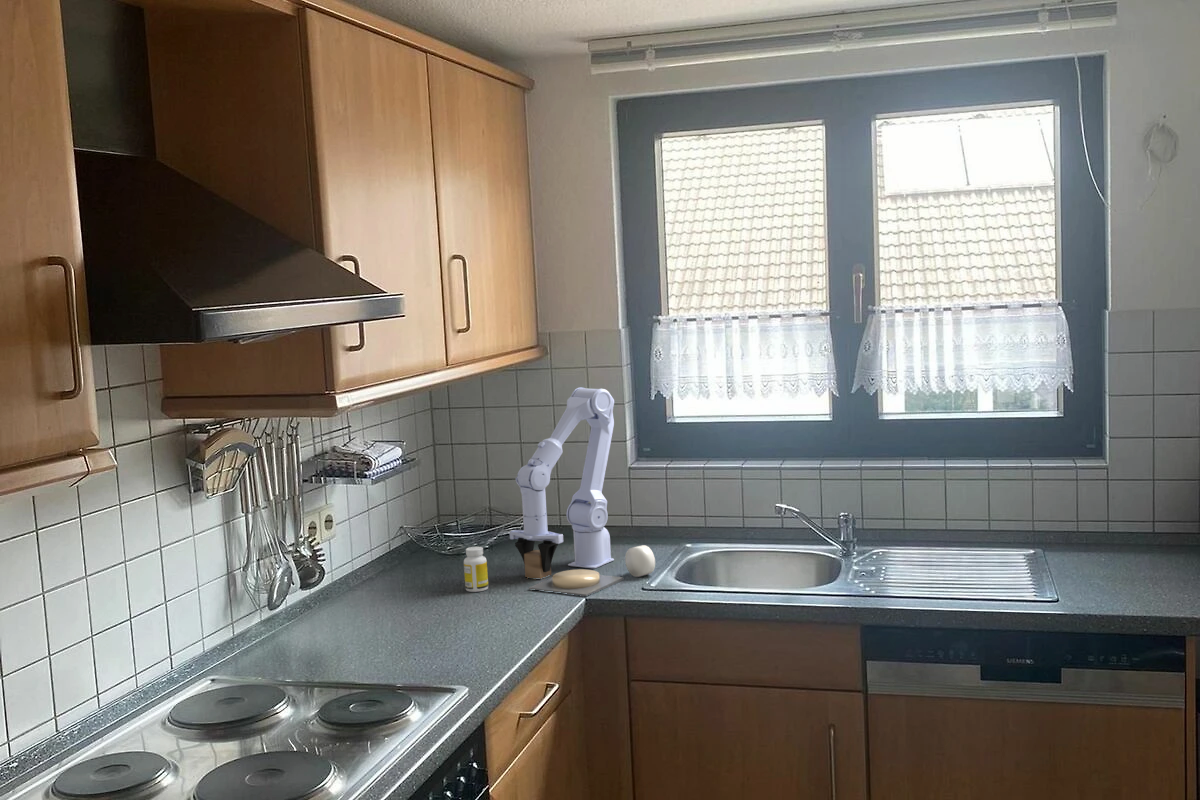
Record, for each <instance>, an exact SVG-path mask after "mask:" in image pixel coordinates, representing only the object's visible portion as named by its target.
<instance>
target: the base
mask: <svg viewBox="0 0 1200 800" xmlns="http://www.w3.org/2000/svg"><path fill="white" fill-rule="evenodd" d="M623 581H624V577H623V576H622V577H621V576H614V575H603V574H600V572H598V571H597V570H594V569H593V570H592V569H583V568H582V569H580V568H579V569H570V570H569V569H567V570H563V571H559V572H556V573H554V574H553V575H551V577H550V578H547V579H545V580H543V581H540V582H538V583H536V584H534V585H531V586H528V589H535V590H544V591H553V592H561V593H567V594H574V595H581V596H587V595H590V594H592V593H594V594H596V593H599V592H600V590H601V591H603V590H605V589H607V588H609V587H612V586H614V585H615V584H618V583H620V582H623ZM528 589H527V590H528ZM602 589H603V590H602ZM595 592H596V593H595ZM592 595H593V594H592ZM581 596H580V597H581ZM590 596H591V595H590Z"/></svg>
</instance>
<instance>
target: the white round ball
mask: <svg viewBox="0 0 1200 800" xmlns="http://www.w3.org/2000/svg"><path fill="white" fill-rule="evenodd" d="M624 561H625V562H624V563H625V566H626V569H627V571H628V572H629V574H630V575H631V576H633V577H635V578H638V577H639V578H640V577H643V576H646V575H650V574H652V573H653V572H654V570H655V567H656V558H655V554H654V552H653V550H652V549H651V548H650V547H649V546H648V545H645V544H644V545H643V544H642V545H637V546H633V547H630V548H628V549H627V551H626V553H625V557H624Z"/></svg>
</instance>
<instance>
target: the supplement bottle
mask: <svg viewBox="0 0 1200 800" xmlns="http://www.w3.org/2000/svg"><path fill="white" fill-rule="evenodd" d="M483 554H484V548H483V547H482V546H470V547H467V548H465V555H466V557H465V558H464V559H463V571H464V573H463V574H464V585H465V587H464V589H465V590H466V592H469V593H470V592H471V593H478V592H483V591H484V592H485V591H486V590H488V589H489V575H488V574H489V573H488V561H487V558H486V556H484V555H483Z"/></svg>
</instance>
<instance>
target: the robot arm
mask: <svg viewBox="0 0 1200 800" xmlns="http://www.w3.org/2000/svg"><path fill="white" fill-rule="evenodd" d="M614 406H615V399H614V397H613V396H612V395H611V392H610V391H608V390H607V389H605V388H587V387H586V388H585V387H577V388H575V389H574V390H573V391H572V392H571V395H570V397H568V398H567V400H566V408H565V411H564V412H563V413H562V415H561V417H560V419H559V420H558V422H557V424H556V426H555V428H554V430H553V431H552V433H551V435H550V437H548V438H545V439H542V441H539V442H538V443H537V445H536V446H537V448H536V449H535V452H534V453H533V454H532V456H531V458H529V459H528V461H527V463H526V464H525V465H523V466H522V467H520V469H519V470H518V472H517V474H516V476H515V482H516V484H517V485H518V487H519V489H520V494H521V502H522V506H521V507H522V519H523V520H522V521H523V530H522V529H513V530H510V531H509V540H517V541H516V542H515V543H514V547H515V548H516V549H517V550H518V551H519V554H520V556H521V559H522V561H523V564H524V565H525V561H524V554H525V553H528V552H530V551H533V550H535V549H534V547H535V542H542V543H539V544H537V547H538V550H540V554H541V558H542V568H543V572H547V571H550V568H551V569H552V563H553V558H554V555H555V552H556V549H557V548H558V545H560V544H562V543H564V535H563V533H557V532H554V531H549V530H548V514H547V498H546V494H547V493H546V488H547V487H548V486H549V484H550V482H551V474H552V470H553V469H554V468H555V466H556V463H557V462H558V461H559V459H560V457H561V456H562V455H563V451H564V450H563V444H564V443H565V442H566V440H567V439H568V438H569V436H570V435H571V433H572V432H573V431H574V429H575V428H576V427H577V426H578V424H579V423H580V422H581V421H584V420H585V421H586V422H587V423H588V424H589V427H590V432H589V437H588V444H587V449H586V455H585V459H584V465H583V471H582V477H581V481H580V487H579V489H578V490H577V491H576V492H575V493H574V494H573V495H572V498H571V501H570V503H569V505H568V506H567V509H566V515H565V517H566V519H567V521H568V523H569V524H570V525H571V529H572V530H573V531H572V532H573V547H574V549H573V551H574V561H572V562H570V563H568V564H567V566H569V567H574V568H576V567H578V568H585V569H598V568H599V567H602V566H604V565H607V564H608V563H610V562H613V561H614V560H615V559H614V558H613V557H612V554H611V553H612V552H611V536H610V532H609V530H608V529H607V528H606V527H605V526H606V524H607V522H608V519H609V517H608V516H609V515H608V510H607V507H608V500H607V499H606V497H605V496H604V494H603V493H602V491H603V487H604V481H605V476H606V470H607V465H608V460H609V455H610V449H611V443H612V439H613V437H612V436H613V432H614V426H615V420H614V412H613V411H614Z"/></svg>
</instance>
